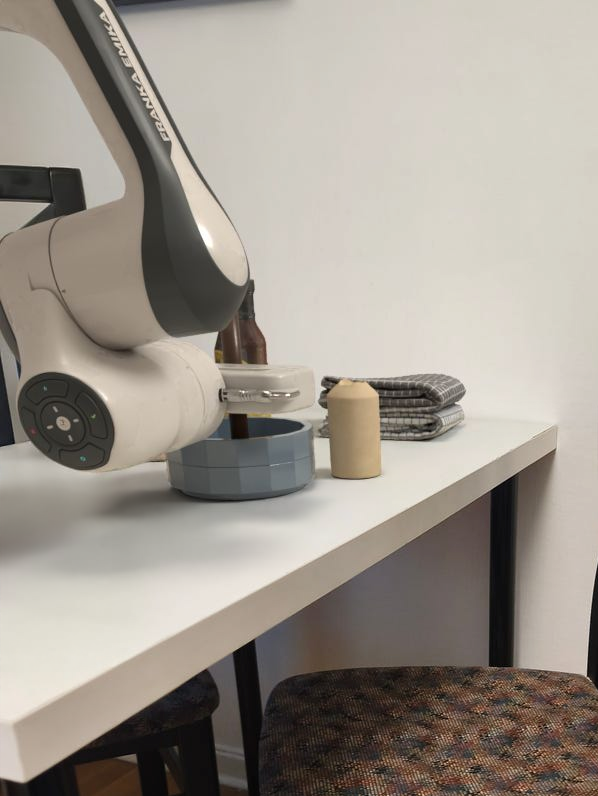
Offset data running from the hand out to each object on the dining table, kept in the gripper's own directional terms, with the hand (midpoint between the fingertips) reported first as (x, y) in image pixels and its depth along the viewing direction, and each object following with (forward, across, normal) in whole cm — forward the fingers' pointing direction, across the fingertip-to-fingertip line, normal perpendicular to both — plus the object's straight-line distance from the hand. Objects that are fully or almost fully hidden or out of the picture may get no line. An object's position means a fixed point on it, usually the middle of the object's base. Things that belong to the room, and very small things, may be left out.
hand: (236, 377), depth 89 cm
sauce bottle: (+18, +7, +11) cm, 23 cm away
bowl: (-1, 0, +11) cm, 11 cm away
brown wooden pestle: (-1, 0, +10) cm, 10 cm away
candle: (+7, -10, +11) cm, 16 cm away
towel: (+36, -7, +11) cm, 38 cm away
